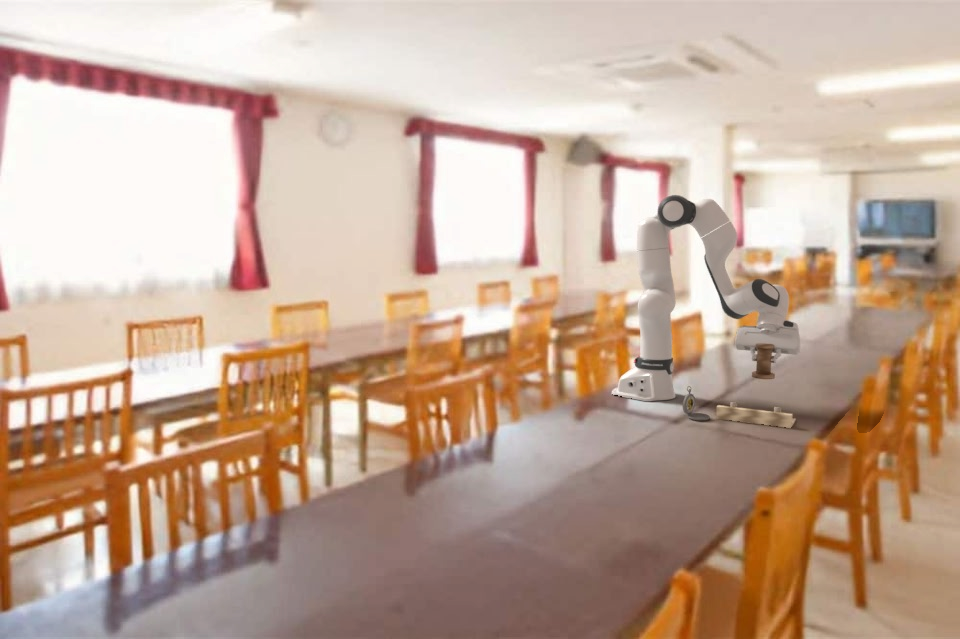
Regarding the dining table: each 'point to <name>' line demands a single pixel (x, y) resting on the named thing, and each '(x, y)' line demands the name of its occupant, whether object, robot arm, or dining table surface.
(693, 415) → the pocket watch
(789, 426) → the peg rack
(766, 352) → the flanged spool
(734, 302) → the robot arm
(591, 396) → the dining table surface
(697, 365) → the dining table surface
